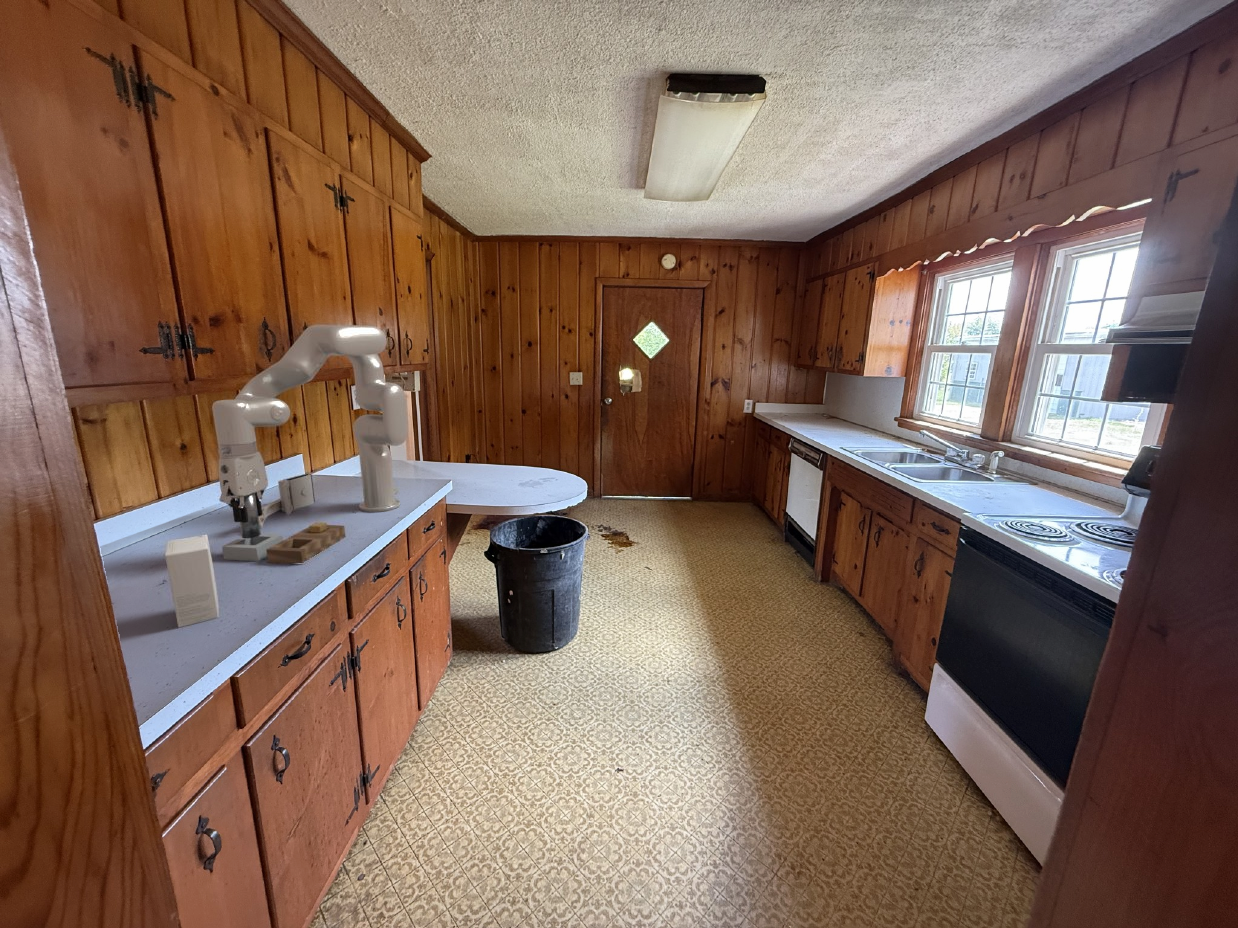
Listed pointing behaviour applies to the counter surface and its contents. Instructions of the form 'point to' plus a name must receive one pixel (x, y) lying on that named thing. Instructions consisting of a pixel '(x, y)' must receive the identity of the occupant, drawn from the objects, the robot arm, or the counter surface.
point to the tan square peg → (318, 527)
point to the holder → (250, 547)
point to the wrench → (269, 510)
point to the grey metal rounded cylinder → (250, 518)
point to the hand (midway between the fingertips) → (248, 518)
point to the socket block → (304, 545)
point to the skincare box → (192, 580)
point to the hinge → (296, 492)
